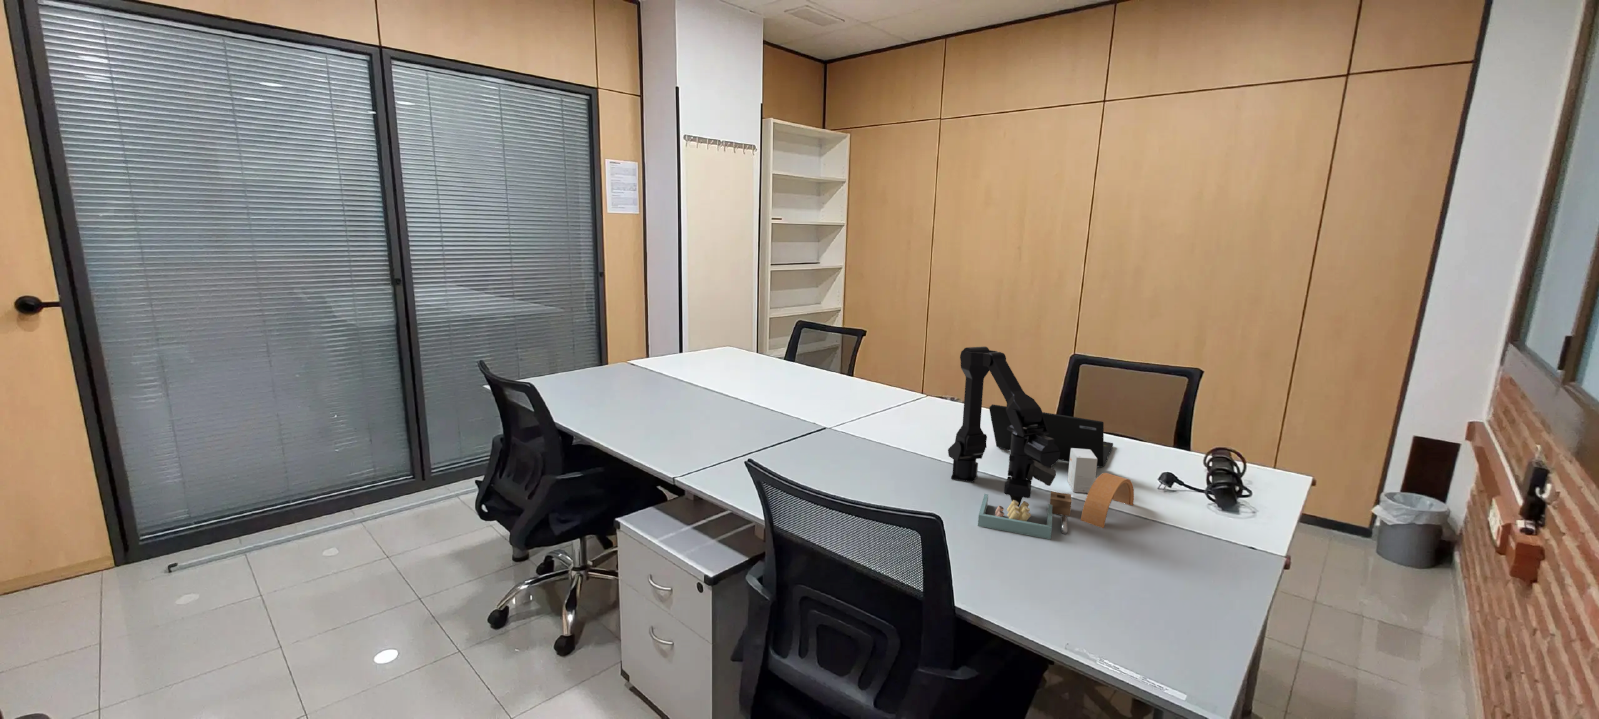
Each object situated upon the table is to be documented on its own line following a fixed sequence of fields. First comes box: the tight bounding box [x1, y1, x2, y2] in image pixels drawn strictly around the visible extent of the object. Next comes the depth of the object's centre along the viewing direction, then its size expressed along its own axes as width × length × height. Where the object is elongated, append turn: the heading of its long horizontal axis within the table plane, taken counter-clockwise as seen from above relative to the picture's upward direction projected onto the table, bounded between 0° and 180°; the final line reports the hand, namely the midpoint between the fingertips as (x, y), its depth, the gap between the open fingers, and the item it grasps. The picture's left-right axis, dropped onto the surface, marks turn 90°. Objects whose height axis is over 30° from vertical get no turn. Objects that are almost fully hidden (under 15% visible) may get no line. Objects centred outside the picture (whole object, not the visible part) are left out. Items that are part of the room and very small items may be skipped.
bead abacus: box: [994, 500, 1032, 522], centre depth 160 cm, size 5×7×8 cm
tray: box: [977, 493, 1053, 540], centre depth 161 cm, size 17×14×3 cm
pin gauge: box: [1060, 515, 1068, 535], centre depth 158 cm, size 1×8×1 cm, turn 158°
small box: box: [1067, 448, 1098, 494], centre depth 181 cm, size 8×6×10 cm
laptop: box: [989, 404, 1114, 468], centre depth 207 cm, size 33×38×19 cm
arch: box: [1080, 472, 1135, 529], centre depth 166 cm, size 6×20×10 cm, turn 133°
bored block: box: [1049, 491, 1072, 517], centre depth 167 cm, size 5×5×4 cm
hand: (1016, 507), depth 165 cm, fingers closed
